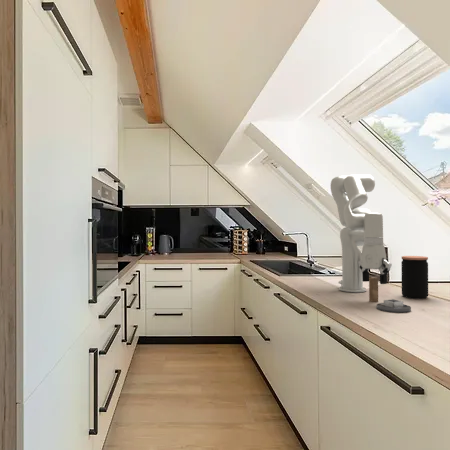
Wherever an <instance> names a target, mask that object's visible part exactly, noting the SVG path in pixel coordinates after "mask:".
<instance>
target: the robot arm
mask: <svg viewBox="0 0 450 450" xmlns="http://www.w3.org/2000/svg"><path fill="white" fill-rule="evenodd" d="M375 185H376V181H375V179H374V176H372V175H371V174H350V175H338V176H335V177H333V178H332V179H331V181H330V193H331V195H332V198H333V200H334V203H335V204H336V207H337V212H338V217H339V222H340V224H341V225H342V226H343V228H342V229H341V230H340V233H339V238H340V244H341V260H342V261H341V262H342V263H341V264H342V268H341V270H342V274H341V276H342V278H341V280H339V281H338V284H339V285H341V286H339V287H338V289H339V291H341V292H346V293H363V292H366V291H367V288H366V287H363V285H364V284H363V282H365V283H367V282H369V278H370V272H369V270H378V271H379V272H380V274H379V284H380V285H387V284H388V275H389V272H390V271H391V267H392V263H390V262H389V261H388V260H387V253H386V247H385V245H384V217H383V213H380V212H372V211H371V210H370V209H369V208H360V207H362V206H364V205H365V204H367V202H368V198H369V197H368V195H367V193H370V192H373V190H374V189H375ZM361 246H362V249H361V250H360V249H359V247H361Z"/></svg>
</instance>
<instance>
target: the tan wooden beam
mask: <svg viewBox="0 0 450 450" xmlns="http://www.w3.org/2000/svg"><path fill="white" fill-rule="evenodd" d="M368 294H369V295H368V297H369V300H368V301H369V302H372V303H379V277H373V276H372V277H369V281H368Z"/></svg>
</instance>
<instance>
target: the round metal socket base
mask: <svg viewBox="0 0 450 450" xmlns="http://www.w3.org/2000/svg"><path fill="white" fill-rule="evenodd" d="M376 309H377V310H378V311H382V312H387V313H395V314H407V313H410V312H412V307H411V306H410V305H408V304H404V301H402V300H399V299H394V298H391V299H383V302H377V304H376Z"/></svg>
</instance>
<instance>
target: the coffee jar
mask: <svg viewBox="0 0 450 450" xmlns="http://www.w3.org/2000/svg"><path fill="white" fill-rule="evenodd" d="M428 260H429V257H428V256H422V255H421V256H420V255H402V256H401V295H402V297H404V298H406V299H413V300H414V299H415V300H424V299H427V298H428V297H429V262H428Z"/></svg>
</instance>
